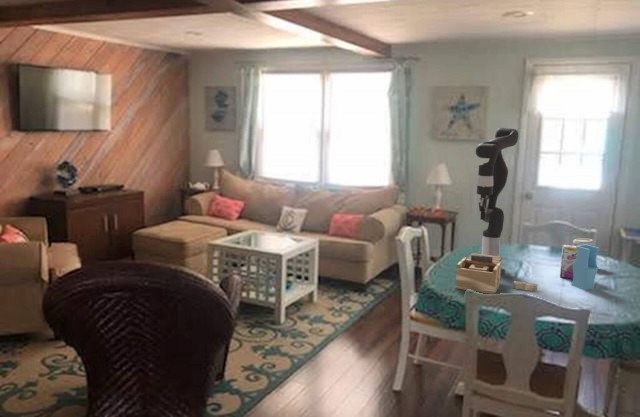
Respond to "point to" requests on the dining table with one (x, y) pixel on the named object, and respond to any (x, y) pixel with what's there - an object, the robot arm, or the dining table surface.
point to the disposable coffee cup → (583, 242)
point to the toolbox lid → (483, 259)
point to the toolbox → (478, 277)
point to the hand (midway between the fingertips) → (482, 219)
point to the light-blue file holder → (585, 267)
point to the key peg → (525, 286)
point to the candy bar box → (568, 261)
